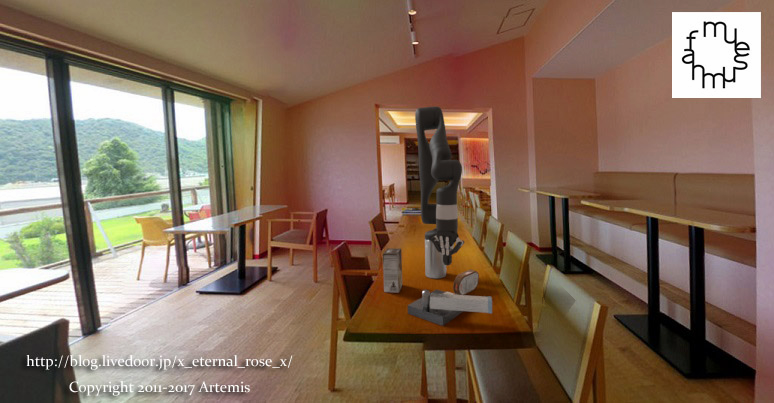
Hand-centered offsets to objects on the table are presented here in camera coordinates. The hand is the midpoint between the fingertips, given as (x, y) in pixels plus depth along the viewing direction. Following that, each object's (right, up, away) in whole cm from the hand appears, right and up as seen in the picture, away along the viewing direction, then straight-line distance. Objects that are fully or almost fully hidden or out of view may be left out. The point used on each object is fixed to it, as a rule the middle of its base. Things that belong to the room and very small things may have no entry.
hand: (447, 264), depth 115 cm
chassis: (-3, -15, -2) cm, 16 cm away
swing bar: (+2, -12, -11) cm, 17 cm away
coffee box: (-19, -14, +19) cm, 30 cm away
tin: (+10, -14, +13) cm, 21 cm away
